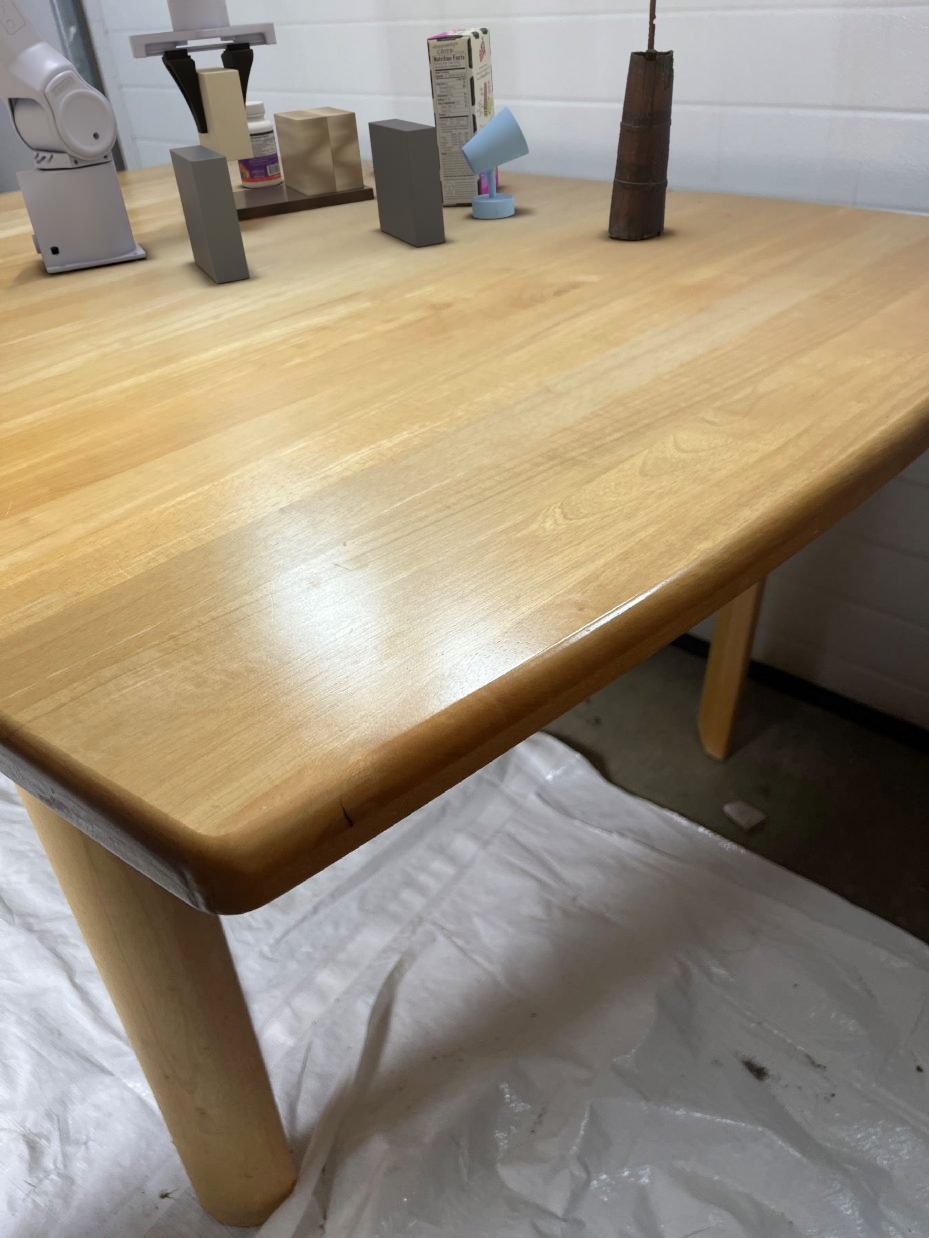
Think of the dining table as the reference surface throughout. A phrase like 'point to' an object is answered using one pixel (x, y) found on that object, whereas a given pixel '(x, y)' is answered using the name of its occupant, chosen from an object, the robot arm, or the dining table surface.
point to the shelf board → (311, 165)
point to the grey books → (399, 179)
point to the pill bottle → (260, 150)
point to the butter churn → (643, 144)
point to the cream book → (224, 113)
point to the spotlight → (494, 161)
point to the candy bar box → (460, 107)
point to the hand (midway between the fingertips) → (221, 130)
